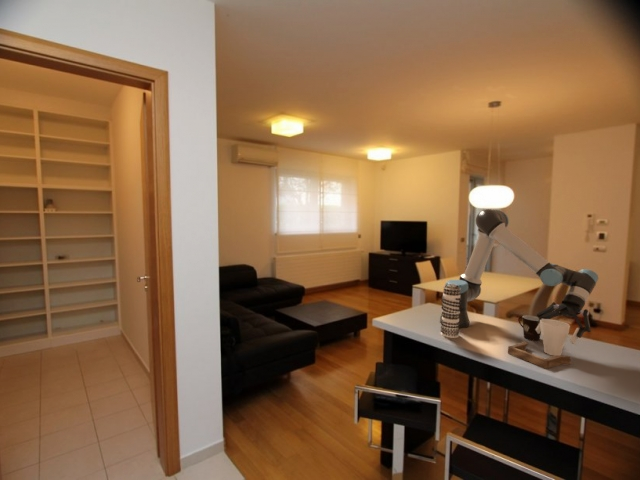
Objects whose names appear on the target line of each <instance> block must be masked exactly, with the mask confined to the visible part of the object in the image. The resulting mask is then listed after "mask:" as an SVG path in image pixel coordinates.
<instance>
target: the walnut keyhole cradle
mask: <svg viewBox="0 0 640 480" xmlns="http://www.w3.org/2000/svg"><path fill="white" fill-rule="evenodd" d="M527 346H528V341H525V340H523V341H522V342H521V343H517V344H513V345H509V346H508V347H507V354H508V355H510V356H511V355H512V356H513V355H514V356H513V357H516V358H518V357H519V358H518V359H521V360H523V359H524V361H526V362H528V361H529V363H531V364H534V365H536V366H538V367H540V368H544V369H546V370H547V369H551V368H553V367H557V366H560V365H565V366H567V365H571V356H569V355H561V356H559V355H557V356H551V357H548V358H543V357H541V356H539V355H536V354H532V353H530V352H528V351H527V348H528V347H527Z"/></svg>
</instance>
